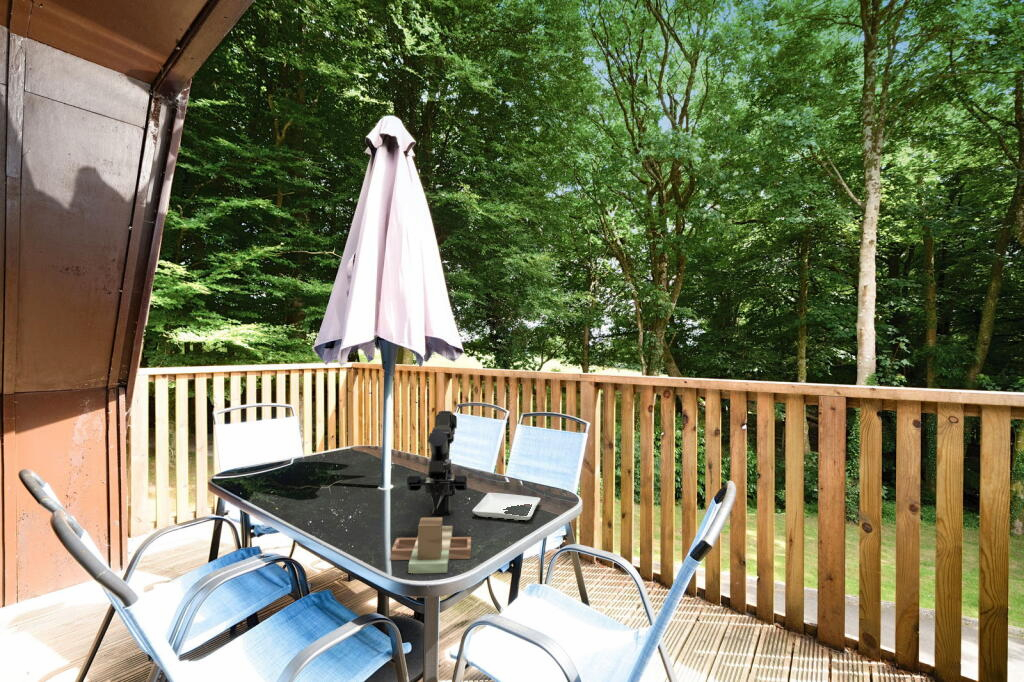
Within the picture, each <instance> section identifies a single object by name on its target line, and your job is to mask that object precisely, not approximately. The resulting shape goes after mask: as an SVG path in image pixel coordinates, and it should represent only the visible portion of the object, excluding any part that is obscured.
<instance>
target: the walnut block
mask: <svg viewBox="0 0 1024 682" xmlns="http://www.w3.org/2000/svg"><path fill="white" fill-rule="evenodd" d="M442 526H443V517H441V516H440V517H439V516H438V517H437V516H436V517H420V520H419V523H418V526H417V537H418V560H430V559H440V558H441V552H442Z"/></svg>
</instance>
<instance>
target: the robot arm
mask: <svg viewBox="0 0 1024 682" xmlns="http://www.w3.org/2000/svg"><path fill="white" fill-rule="evenodd" d="M456 429H458V418H457V415H455V414H453V412H452V411H451V410H440V411H438V413H437V414H436V415H435V419H434V427H433V428H432V430H431V432H430V433H429V435H428V438H427V439H428V444H429V448H430V453H431V454H430V461H429V463H428V464H429V465H428V471H427V473H428V474H427V478H422V477H421V474H409V475H408V476H407V479H406V484H407V490H408V491H410V492H419V491H420V490H421V489H422V487H423V486H424V489H425V493H426V494H429V497H430V498H431V501H432V506H433V508H432V511H431V515H432V516H441V515H446V516H448V515H451V513H452V512H451V511H452V507H450V506H451V505H450V503H451V497H454V496H455V495H456V491H461V492H463V491H468V476H467V474H454V477H453V474H452V459H451V458H450V449H451V444H453V442H454V440H455V436H454V435H455V434H456V433H455V432H456Z"/></svg>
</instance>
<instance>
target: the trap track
mask: <svg viewBox="0 0 1024 682" xmlns="http://www.w3.org/2000/svg"><path fill="white" fill-rule="evenodd" d="M453 528H454V527H453V525H442V552H441V558H440V559H430V560H418V536H417V537H397V538H395V541H394V543H393V546H392V547H391V551H390V561H407V560H408V561H409V562H408V569H407V570H408V573H411V574H412V573H413V574H447V573H448V568H449V567H448V566H449V562H450V560H467V559H471V551H472V550H471V549H472V536H453Z"/></svg>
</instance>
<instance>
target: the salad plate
mask: <svg viewBox="0 0 1024 682" xmlns="http://www.w3.org/2000/svg"><path fill="white" fill-rule="evenodd" d="M540 501H541V497H536V496H529V495H520V494H519V495H518V494H512V493H511V494H510V493H501V492H500V493H498V492H487V494H486V495H485V496H484V497H483V498H482V499H481V500H480V501H479V502H478V504H477V505H475V507H474V508H473V509H472V513H473V514H475V515H476V516H479V517H484V518H488V517H492V518H491V519H497V518H504V519H503V520H507V519H514V520H513V521H518V520H525V521H528V520H531V518H532V516H533V514H534V512H535V510H536V508H537V506H538V504H539V503H540ZM524 504H530V505H531V504H532V507H531V509H530V511H529V513H528V515H527V516H519V515H512V514H505V513H504V512H505V511H508V510H503V509H506V508H507V507H511V506H517V505H519V506H520V505H524Z"/></svg>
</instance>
